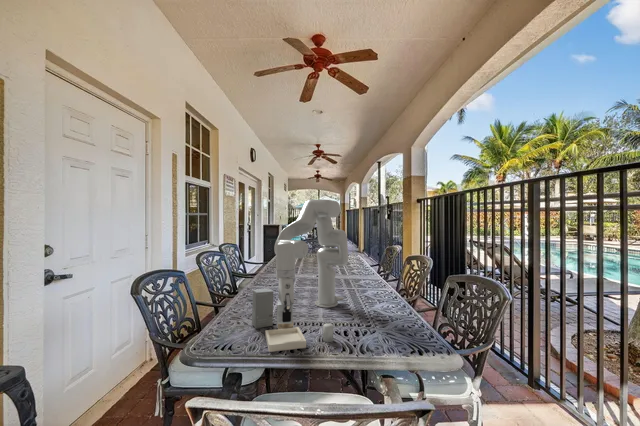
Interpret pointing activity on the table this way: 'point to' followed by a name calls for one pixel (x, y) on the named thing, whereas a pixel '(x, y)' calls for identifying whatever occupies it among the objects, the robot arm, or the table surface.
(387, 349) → the table surface
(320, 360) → the table surface
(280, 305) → the skincare box
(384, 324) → the table surface
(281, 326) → the beech block
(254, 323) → the skincare box
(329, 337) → the grey dowel
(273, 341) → the tray
